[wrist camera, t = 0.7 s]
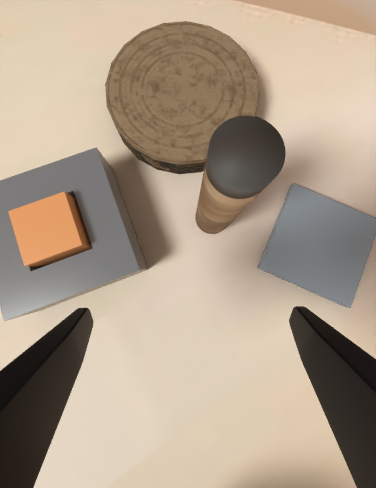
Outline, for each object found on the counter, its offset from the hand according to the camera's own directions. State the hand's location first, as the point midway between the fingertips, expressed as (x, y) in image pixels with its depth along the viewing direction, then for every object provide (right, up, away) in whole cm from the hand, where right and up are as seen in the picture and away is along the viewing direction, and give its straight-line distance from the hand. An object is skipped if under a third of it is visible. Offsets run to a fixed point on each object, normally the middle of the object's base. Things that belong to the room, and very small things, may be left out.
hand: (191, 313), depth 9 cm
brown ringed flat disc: (-1, +19, +15) cm, 24 cm away
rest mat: (+14, +3, +13) cm, 19 cm away
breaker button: (-12, +4, +11) cm, 17 cm away
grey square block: (-12, +4, +13) cm, 18 cm away
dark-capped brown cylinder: (+2, +6, +13) cm, 15 cm away
